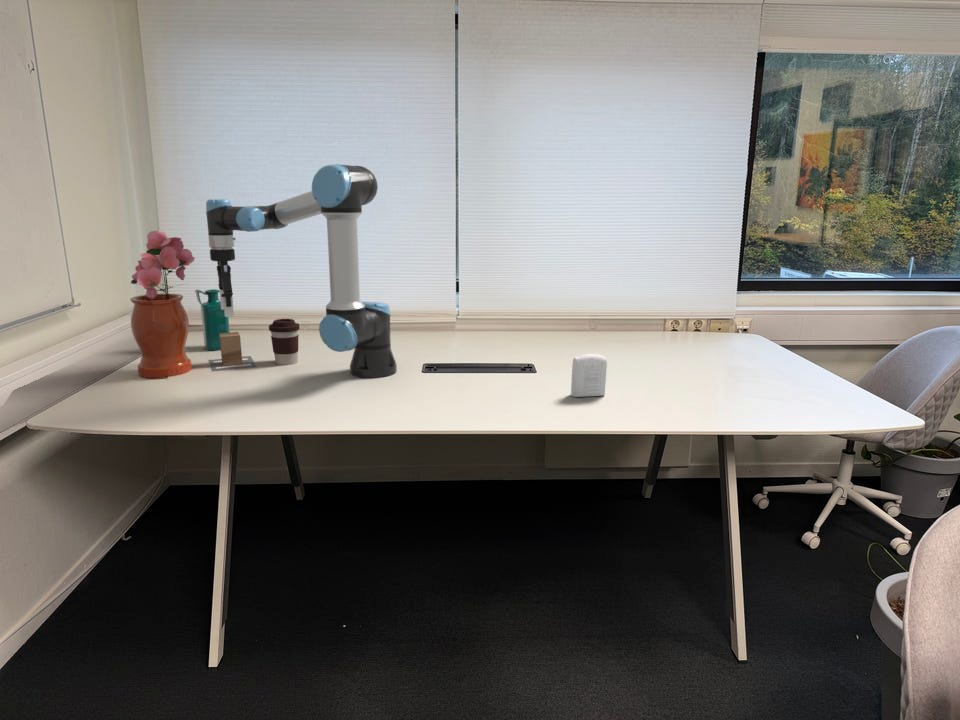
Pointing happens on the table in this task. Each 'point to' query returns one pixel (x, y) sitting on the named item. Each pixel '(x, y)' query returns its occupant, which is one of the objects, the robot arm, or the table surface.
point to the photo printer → (588, 375)
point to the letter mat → (218, 366)
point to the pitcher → (212, 319)
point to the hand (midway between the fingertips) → (227, 312)
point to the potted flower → (161, 309)
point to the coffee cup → (285, 341)
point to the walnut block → (230, 349)
